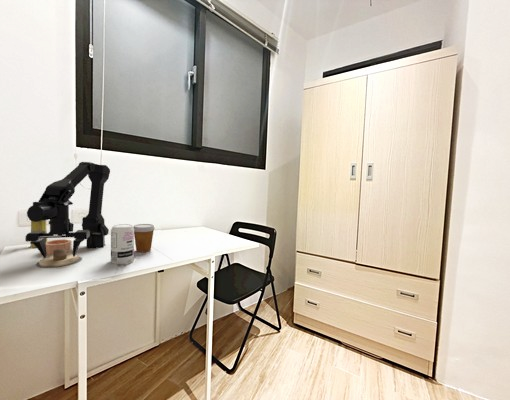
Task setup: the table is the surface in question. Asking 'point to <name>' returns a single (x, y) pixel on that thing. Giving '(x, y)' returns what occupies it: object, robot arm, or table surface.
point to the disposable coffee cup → (143, 237)
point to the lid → (58, 259)
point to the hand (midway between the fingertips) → (60, 257)
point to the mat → (58, 266)
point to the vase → (38, 228)
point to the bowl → (58, 245)
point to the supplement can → (122, 244)
